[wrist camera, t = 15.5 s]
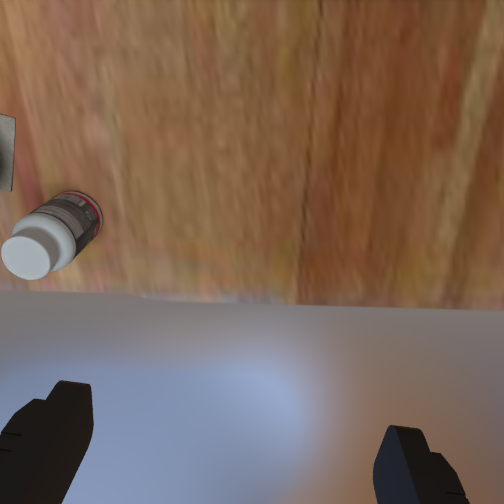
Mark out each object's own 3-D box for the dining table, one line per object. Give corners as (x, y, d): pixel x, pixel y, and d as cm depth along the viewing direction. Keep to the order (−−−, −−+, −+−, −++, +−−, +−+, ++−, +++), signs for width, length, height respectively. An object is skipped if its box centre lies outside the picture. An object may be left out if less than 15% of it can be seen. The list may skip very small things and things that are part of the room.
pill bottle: (81, 249, 43) (31, 298, 34) (40, 211, 42) (-23, 253, 33) (115, 219, 41) (71, 263, 33) (74, 179, 40) (17, 214, 31)
